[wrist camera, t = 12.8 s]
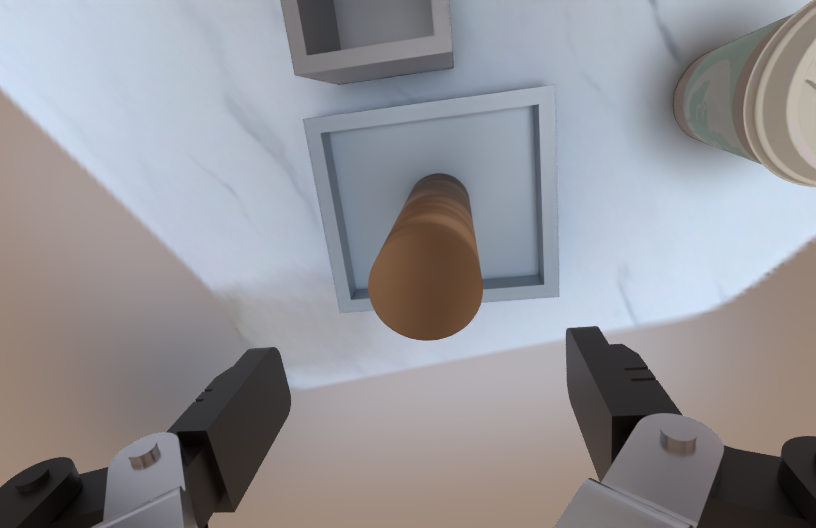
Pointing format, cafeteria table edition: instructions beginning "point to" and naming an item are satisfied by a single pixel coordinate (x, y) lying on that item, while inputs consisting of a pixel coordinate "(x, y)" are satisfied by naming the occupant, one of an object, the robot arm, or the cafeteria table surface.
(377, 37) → the grey square frame
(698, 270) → the cafeteria table surface
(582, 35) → the cafeteria table surface
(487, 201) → the tray
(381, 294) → the walnut peg
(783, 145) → the coffee cup
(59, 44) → the cafeteria table surface
